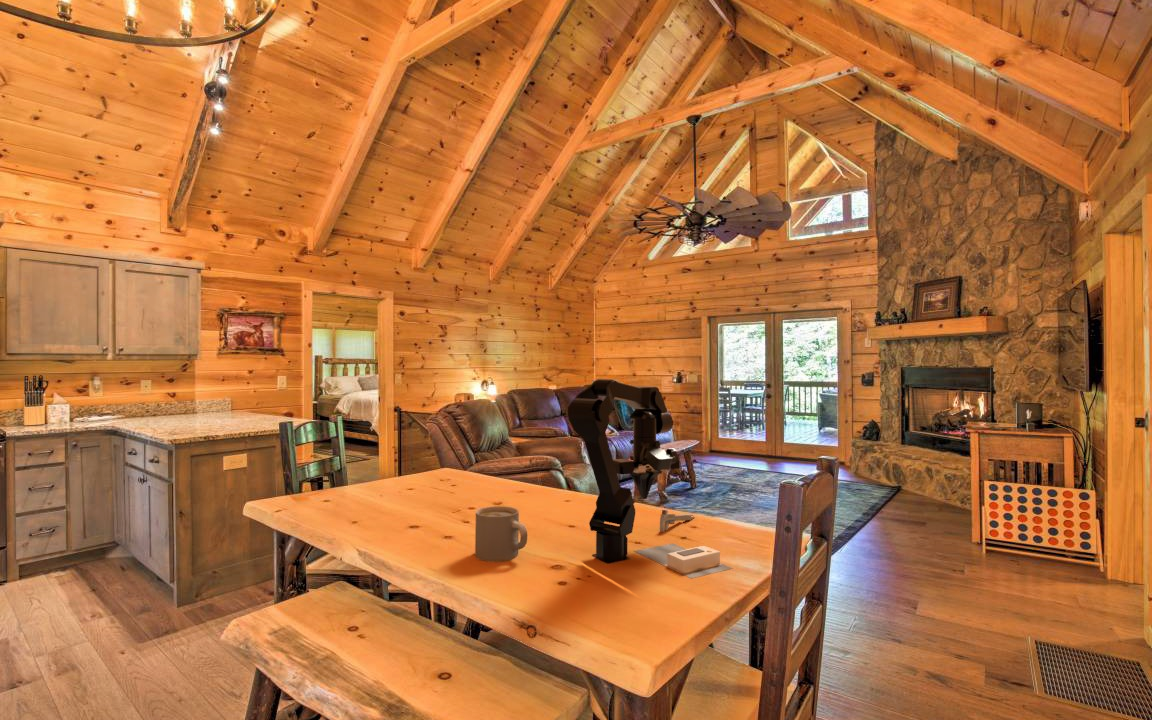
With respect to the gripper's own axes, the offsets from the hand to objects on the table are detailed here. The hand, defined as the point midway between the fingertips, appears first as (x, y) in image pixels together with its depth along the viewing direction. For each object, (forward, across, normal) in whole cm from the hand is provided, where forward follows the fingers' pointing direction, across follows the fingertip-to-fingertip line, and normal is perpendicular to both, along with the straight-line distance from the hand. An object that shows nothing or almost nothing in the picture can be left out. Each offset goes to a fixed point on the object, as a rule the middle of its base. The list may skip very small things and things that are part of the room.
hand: (644, 498), depth 142 cm
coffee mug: (+11, -35, +8) cm, 38 cm away
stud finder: (+10, -1, -19) cm, 22 cm away
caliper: (+12, +18, +8) cm, 23 cm away
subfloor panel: (+11, -1, -15) cm, 19 cm away
